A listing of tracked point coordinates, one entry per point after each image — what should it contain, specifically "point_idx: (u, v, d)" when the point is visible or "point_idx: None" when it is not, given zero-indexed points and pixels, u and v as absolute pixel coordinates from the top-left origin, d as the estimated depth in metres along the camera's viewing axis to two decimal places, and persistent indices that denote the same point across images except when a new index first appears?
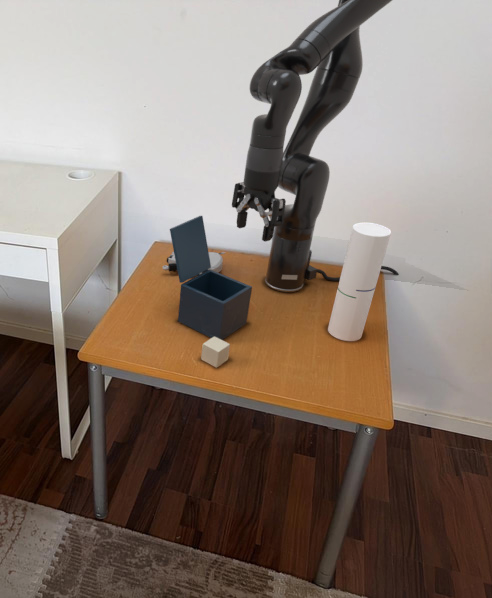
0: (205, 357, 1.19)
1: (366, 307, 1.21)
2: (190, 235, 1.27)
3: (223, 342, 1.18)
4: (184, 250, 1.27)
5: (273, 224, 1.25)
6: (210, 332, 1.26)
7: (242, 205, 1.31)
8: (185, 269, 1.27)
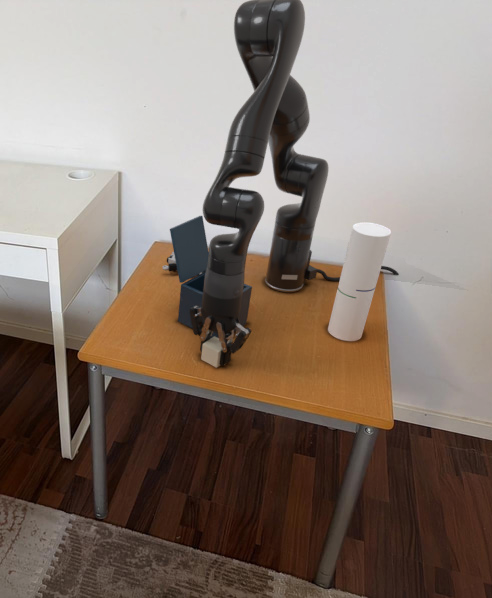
0: (205, 357, 1.19)
1: (366, 307, 1.21)
2: (190, 235, 1.27)
3: None
4: (184, 250, 1.27)
5: (233, 351, 1.13)
6: None
7: (205, 331, 1.17)
8: (185, 269, 1.27)
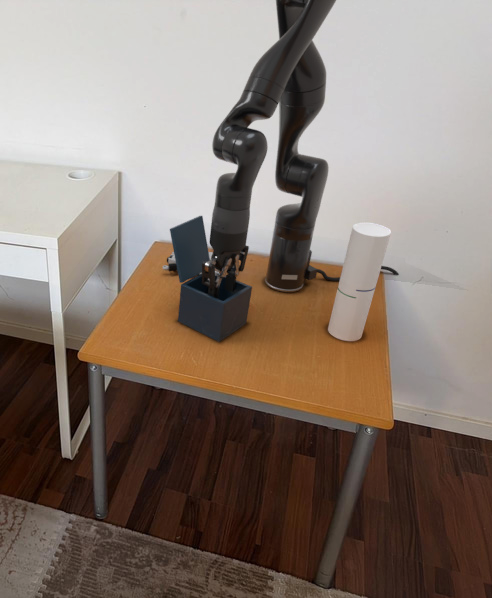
0: None
1: (366, 307, 1.21)
2: (190, 235, 1.27)
3: None
4: (184, 250, 1.27)
5: None
6: (210, 332, 1.26)
7: None
8: (185, 269, 1.27)
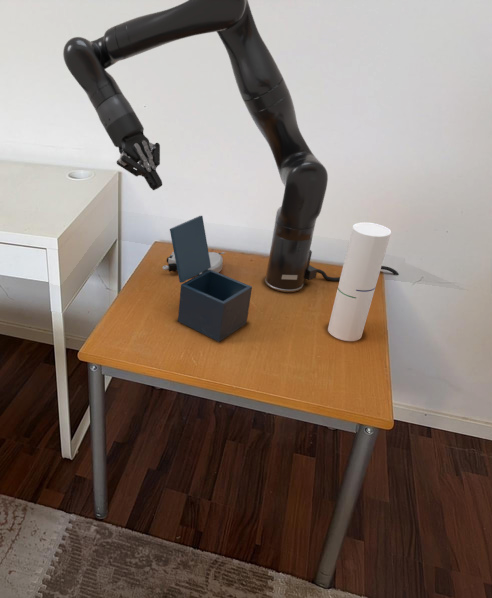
0: None
1: (366, 307, 1.21)
2: (190, 235, 1.27)
3: None
4: (184, 250, 1.27)
5: None
6: (210, 332, 1.26)
7: None
8: (185, 269, 1.27)
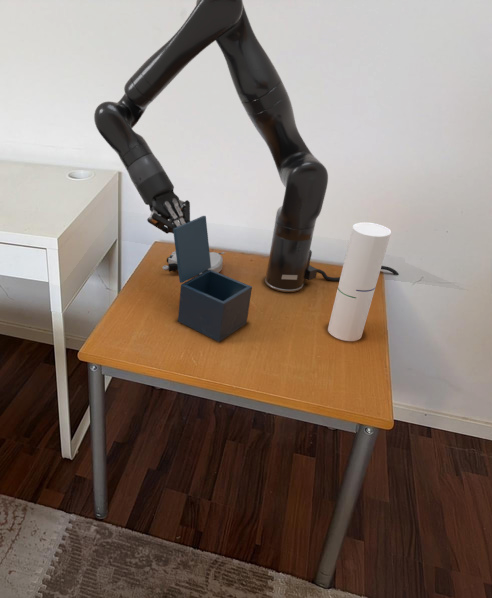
0: None
1: (366, 307, 1.21)
2: (193, 236, 1.27)
3: None
4: (186, 250, 1.26)
5: None
6: (210, 332, 1.26)
7: None
8: (186, 269, 1.27)
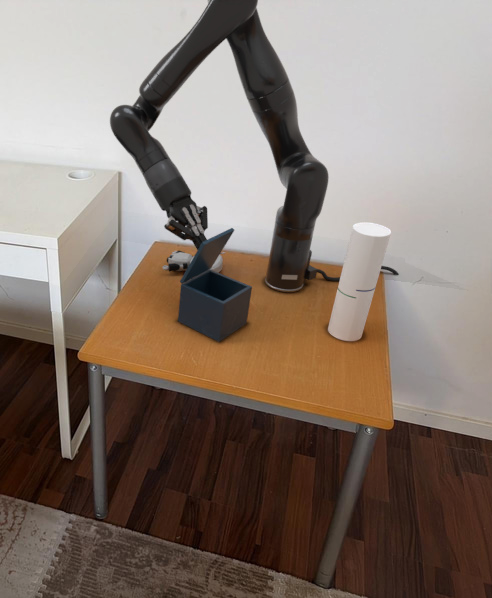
0: None
1: (366, 307, 1.21)
2: (214, 247, 1.24)
3: None
4: (201, 259, 1.24)
5: None
6: (210, 332, 1.26)
7: None
8: (191, 273, 1.26)
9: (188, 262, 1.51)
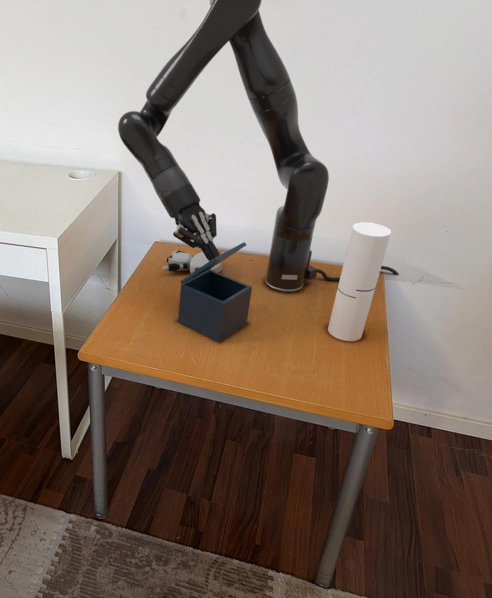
0: None
1: (366, 307, 1.21)
2: (223, 258, 1.23)
3: None
4: (207, 268, 1.23)
5: None
6: (210, 332, 1.26)
7: None
8: (193, 277, 1.26)
9: (188, 262, 1.51)
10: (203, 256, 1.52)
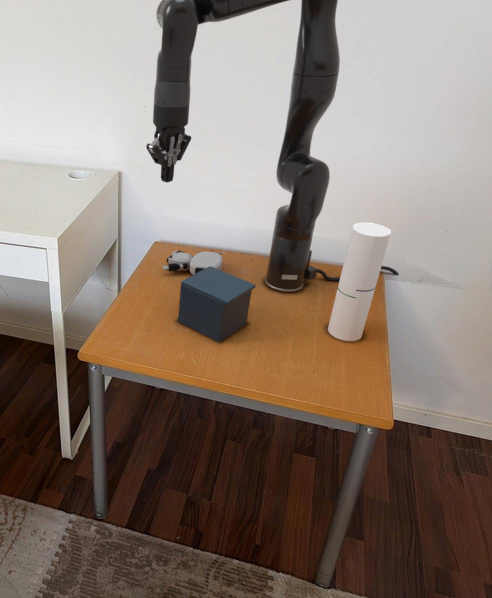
0: None
1: (366, 307, 1.21)
2: None
3: None
4: None
5: None
6: (210, 332, 1.26)
7: None
8: None
9: (188, 262, 1.51)
10: (203, 256, 1.52)
